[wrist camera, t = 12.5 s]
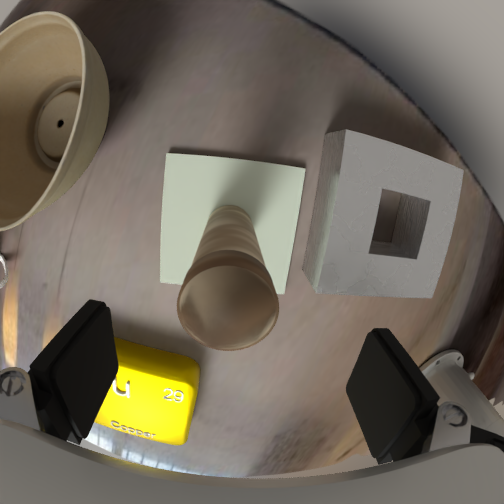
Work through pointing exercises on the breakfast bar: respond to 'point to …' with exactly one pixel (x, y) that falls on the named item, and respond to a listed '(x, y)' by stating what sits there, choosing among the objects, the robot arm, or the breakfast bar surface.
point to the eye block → (365, 213)
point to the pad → (228, 193)
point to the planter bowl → (47, 112)
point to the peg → (228, 285)
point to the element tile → (151, 394)
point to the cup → (4, 281)
